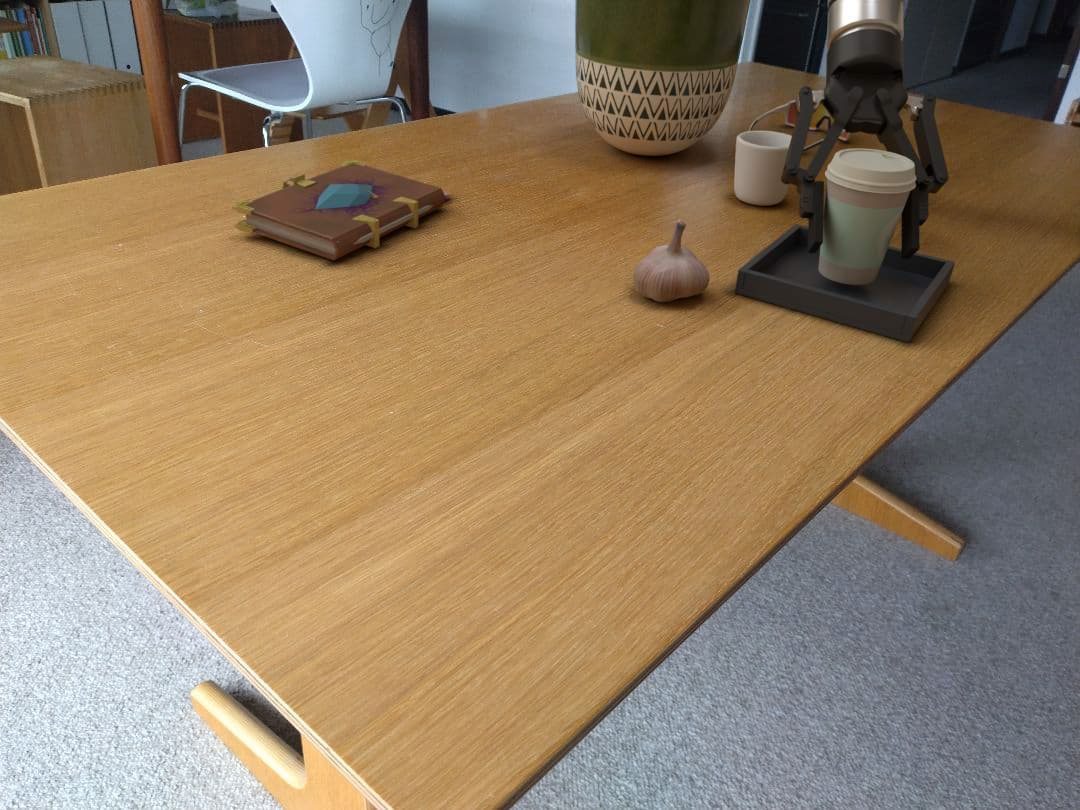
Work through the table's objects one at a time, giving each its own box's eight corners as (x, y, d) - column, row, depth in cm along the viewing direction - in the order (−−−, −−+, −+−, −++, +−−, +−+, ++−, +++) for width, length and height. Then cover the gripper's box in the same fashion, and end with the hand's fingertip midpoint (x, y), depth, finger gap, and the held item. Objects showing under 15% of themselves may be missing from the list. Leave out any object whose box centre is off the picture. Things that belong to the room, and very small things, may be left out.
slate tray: (948, 284, 94) (955, 261, 93) (908, 342, 82) (915, 317, 81) (791, 244, 102) (795, 223, 101) (734, 293, 90) (738, 269, 89)
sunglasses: (865, 140, 140) (870, 109, 137) (807, 170, 133) (811, 138, 130) (792, 120, 149) (795, 91, 146) (734, 147, 142) (736, 117, 139)
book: (467, 207, 111) (468, 169, 108) (338, 274, 93) (335, 229, 90) (365, 176, 117) (364, 139, 114) (224, 233, 99) (219, 190, 96)
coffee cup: (880, 298, 86) (912, 179, 80) (795, 278, 90) (819, 162, 83) (896, 268, 93) (927, 156, 86) (816, 251, 96) (840, 141, 90)
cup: (745, 180, 122) (755, 122, 117) (802, 191, 118) (814, 132, 114) (718, 202, 114) (728, 140, 109) (778, 215, 110) (790, 151, 106)
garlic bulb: (713, 289, 91) (725, 215, 87) (694, 317, 85) (705, 239, 81) (644, 274, 93) (652, 202, 89) (621, 301, 88) (628, 224, 83)
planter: (680, 124, 146) (701, -59, 131) (760, 168, 127) (796, -40, 112) (542, 133, 138) (549, -60, 124) (606, 181, 119) (623, -40, 105)
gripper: (953, 74, 94) (956, 272, 90) (754, 63, 96) (746, 258, 91) (985, 30, 87) (990, 242, 82) (769, 19, 88) (761, 228, 83)
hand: (862, 250), depth 86 cm, fingers closed on coffee cup, 8 cm apart
